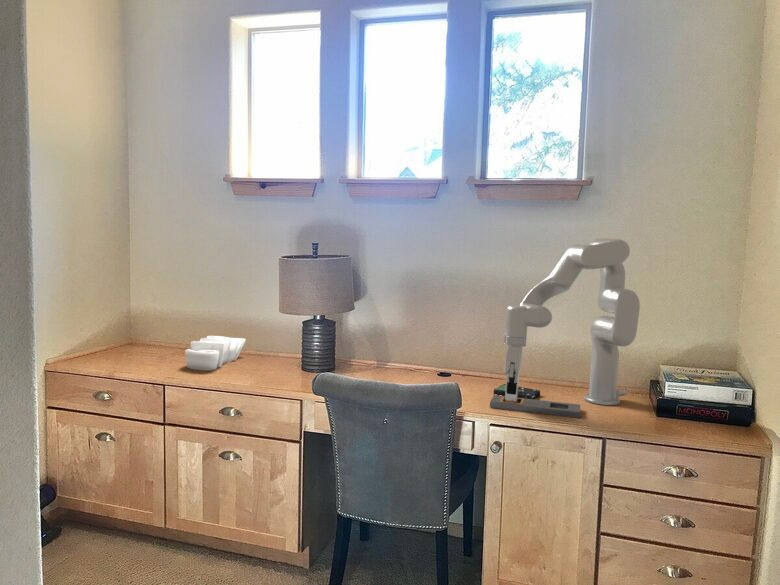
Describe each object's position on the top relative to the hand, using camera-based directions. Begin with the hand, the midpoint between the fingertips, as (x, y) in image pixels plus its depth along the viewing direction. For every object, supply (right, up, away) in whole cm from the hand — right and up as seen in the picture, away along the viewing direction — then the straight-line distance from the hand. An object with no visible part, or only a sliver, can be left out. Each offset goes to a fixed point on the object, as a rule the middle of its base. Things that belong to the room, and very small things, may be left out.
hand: (511, 391), depth 216 cm
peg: (0, -3, 0) cm, 3 cm away
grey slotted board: (+8, -6, -2) cm, 10 cm away
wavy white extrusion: (-119, +4, +52) cm, 130 cm away
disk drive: (+5, -5, +16) cm, 18 cm away
